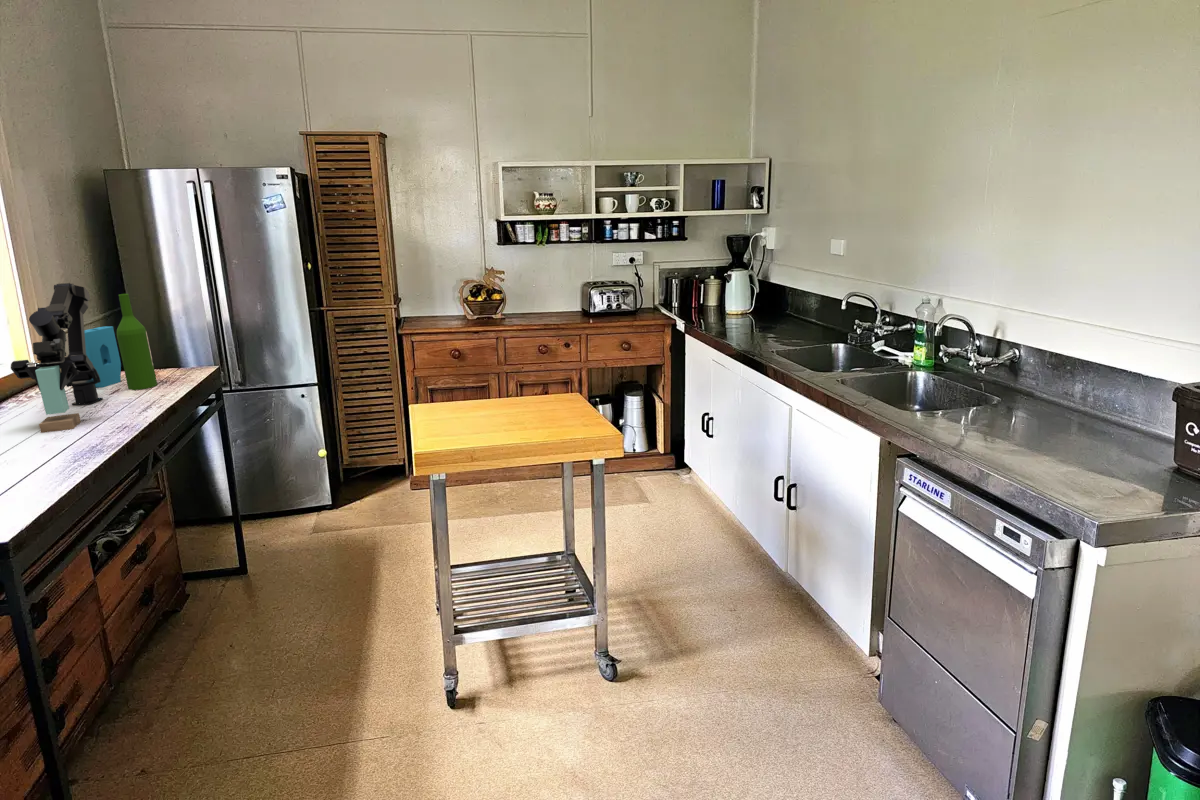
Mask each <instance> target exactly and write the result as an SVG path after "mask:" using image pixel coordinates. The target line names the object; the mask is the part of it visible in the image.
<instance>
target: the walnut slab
mask: <svg viewBox="0 0 1200 800" xmlns="http://www.w3.org/2000/svg"><path fill="white" fill-rule="evenodd" d="M81 420H82V419H81V415H80V413H79V412H78V413H69V414H68V413H67V414H60V415H53V416H47V417H46V418H44V419H43V420H42V421H41V422H40V423H38V427H39V430H40V433H42V434H44V433H51V432H59V431H60V432H61V431H67V430H74V429H75V428H77V426H78V425H79V424H80V423H81V422H82V421H81Z"/></svg>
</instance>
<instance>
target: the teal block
mask: <svg viewBox="0 0 1200 800" xmlns="http://www.w3.org/2000/svg"><path fill="white" fill-rule="evenodd" d="M35 372H36V376H37V380H38V384H39V388H40V390H39V392H40V395H41V399H42V404H43V407H44V408H43V409H44V410H45V411H44V412H45V415H46V416H47V415H55V414H56V415H57V414H62V413H63V414H64V413H66V412H67V411H68V410H69V409H70V405H69V402H68V398H67V393H66V389H65V388H66V387H64V389H63V390H60V376H61V369H60V368H59V365H58V366H49V367H40V368H39V369H37V370H35ZM39 388H38V389H39Z"/></svg>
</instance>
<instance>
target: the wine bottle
mask: <svg viewBox="0 0 1200 800" xmlns="http://www.w3.org/2000/svg"><path fill="white" fill-rule="evenodd" d="M129 295H130V294H129V293H121V294H119V293H118V295H117V296H118V300H119V305H120V310H121V315H122V317H121V319H120V322H119V324H118V326H117V329H116V338H117V344H118V347H119V348H118V349H119V352H120V353H119V354H120V356H121V357H120V358H121V361H122V366H123V370H124V375H125V380H126V383H127V388H128V390H130V391H140V390H148V389H152V388H154V387H156V386H157V385H158V381H157V377H156V372H155V367H154V363H153V361H154V360H153V357H152V351H151V347H150V342H149V337H148V333H147V330H146V327H145V325H143V324H142V323H141V322H140V321H139V320H138V319H137V318H136V317H135V316H134V313H133V309H132V304H131V299H130V296H129Z"/></svg>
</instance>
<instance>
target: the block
mask: <svg viewBox="0 0 1200 800" xmlns="http://www.w3.org/2000/svg"><path fill="white" fill-rule="evenodd" d="M84 333H85V346H86V355H87V356H88V358H89V360H90V361H91V362H92V363H93V366H94V367H95V369H96V370H97V372H98V374H99V377H100V380H101V382H99V383H97V384H95V386H96V389H97V388H98V389H100V388H101V389H102V388H107V387H109V386H113V385H116V384H120V383H122V382H121V381H122V380H121V379H122V377H121V376H122V374H121V373H122V371H121V370H122V368H121V367H122V363H121V357H120V353H119V352H120V351H119V348H118V345H117V344H118V342H117V340H116V336H115V335H116V333H115V331H114V326H108V325H107V326H99V327H94V328H89V329H84ZM92 380H93V379H92Z"/></svg>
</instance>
